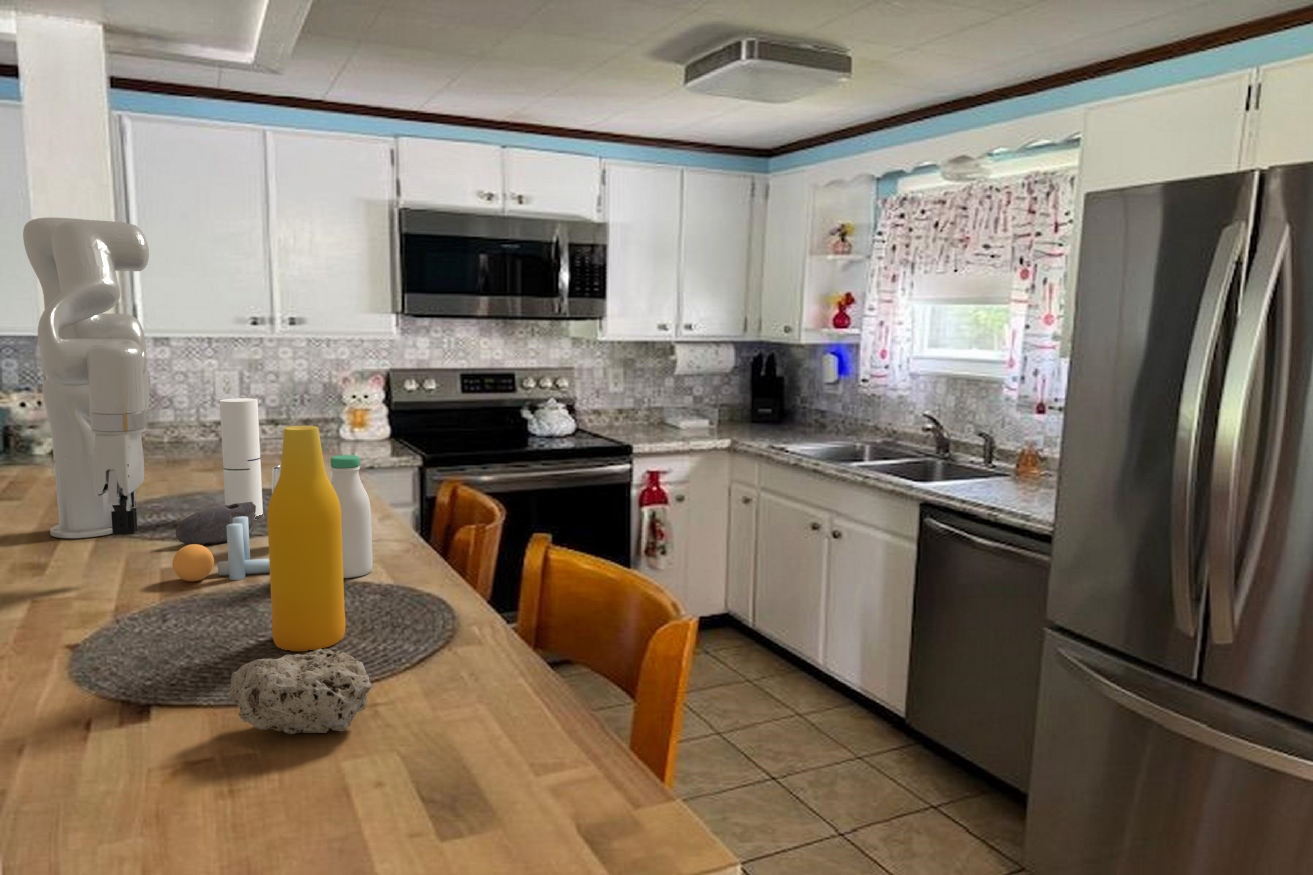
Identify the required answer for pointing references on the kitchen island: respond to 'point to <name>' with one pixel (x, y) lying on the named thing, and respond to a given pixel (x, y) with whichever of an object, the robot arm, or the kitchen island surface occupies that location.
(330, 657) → the pumice stone
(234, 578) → the pin back left
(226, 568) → the pin front
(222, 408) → the cylindrical container
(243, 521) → the pin back right
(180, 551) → the ball
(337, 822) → the kitchen island surface
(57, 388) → the robot arm
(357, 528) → the milk bottle
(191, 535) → the perforated stone tool
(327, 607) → the beer bottle
